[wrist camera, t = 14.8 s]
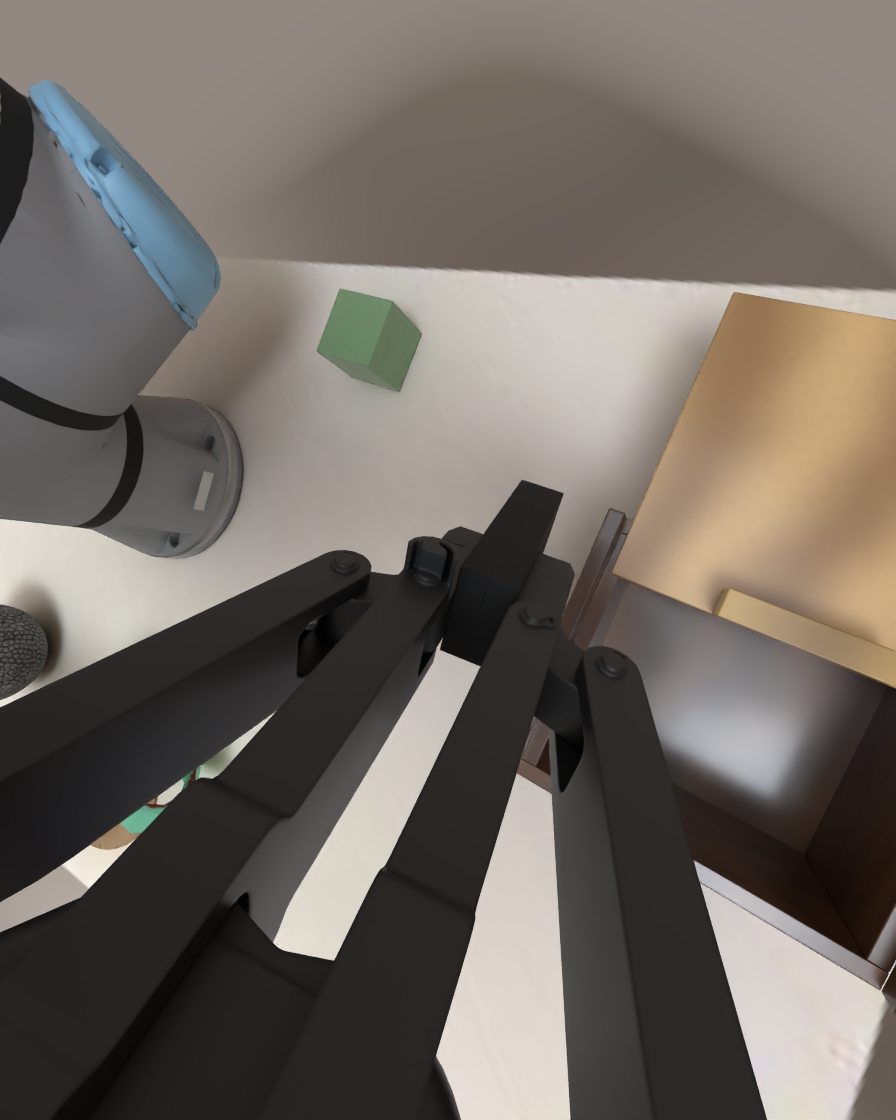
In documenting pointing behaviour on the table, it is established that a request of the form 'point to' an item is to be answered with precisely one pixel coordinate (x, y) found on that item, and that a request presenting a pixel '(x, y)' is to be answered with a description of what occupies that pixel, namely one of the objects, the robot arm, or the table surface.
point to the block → (369, 339)
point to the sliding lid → (783, 485)
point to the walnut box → (759, 763)
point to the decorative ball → (19, 650)
